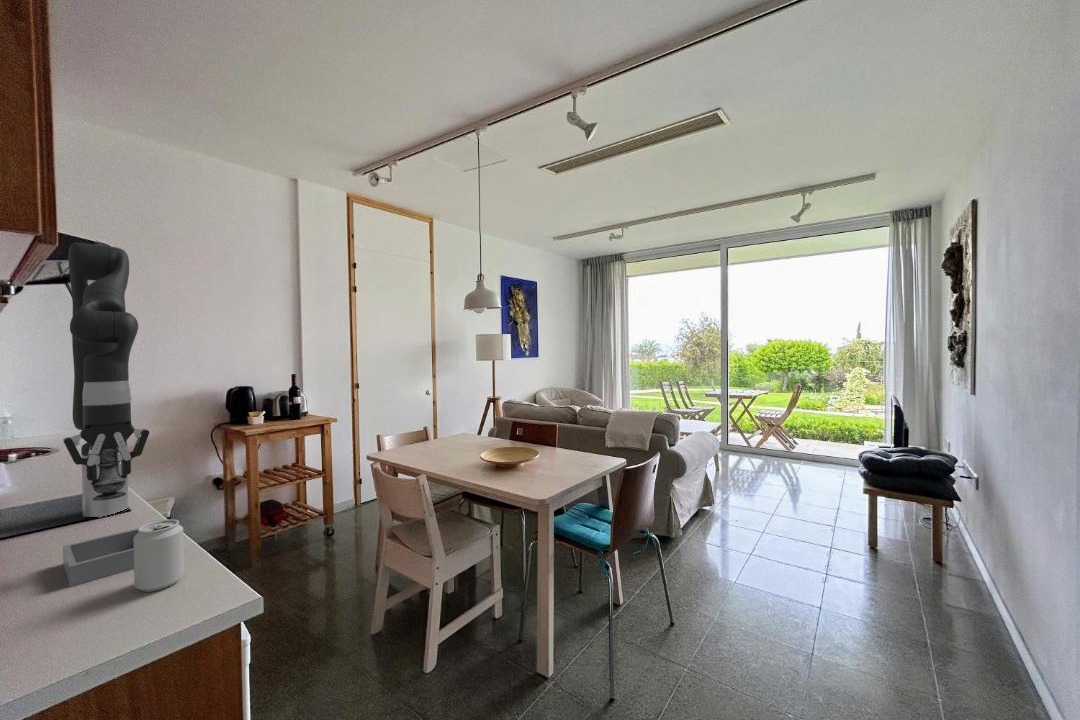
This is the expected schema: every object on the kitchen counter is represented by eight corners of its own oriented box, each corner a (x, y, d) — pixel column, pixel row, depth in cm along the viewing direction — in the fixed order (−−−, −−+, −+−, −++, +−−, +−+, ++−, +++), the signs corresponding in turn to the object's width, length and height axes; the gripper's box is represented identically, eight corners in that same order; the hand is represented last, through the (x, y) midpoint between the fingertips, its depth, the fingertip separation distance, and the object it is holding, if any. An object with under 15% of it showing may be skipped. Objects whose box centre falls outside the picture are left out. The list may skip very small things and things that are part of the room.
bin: (63, 564, 95) (62, 546, 95) (148, 542, 106) (148, 525, 106) (69, 586, 86) (69, 566, 86) (162, 560, 97) (161, 542, 97)
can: (142, 598, 83) (141, 535, 82) (128, 586, 87) (127, 526, 86) (190, 580, 89) (189, 522, 89) (175, 570, 93) (174, 514, 93)
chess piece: (104, 501, 93) (102, 445, 93) (83, 500, 95) (81, 444, 94) (135, 493, 99) (133, 440, 99) (114, 491, 100) (113, 439, 100)
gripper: (146, 398, 104) (148, 469, 105) (57, 403, 93) (60, 484, 94) (153, 400, 100) (155, 475, 100) (61, 406, 89) (63, 490, 89)
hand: (109, 479), depth 97 cm, fingers closed on chess piece, 4 cm apart
